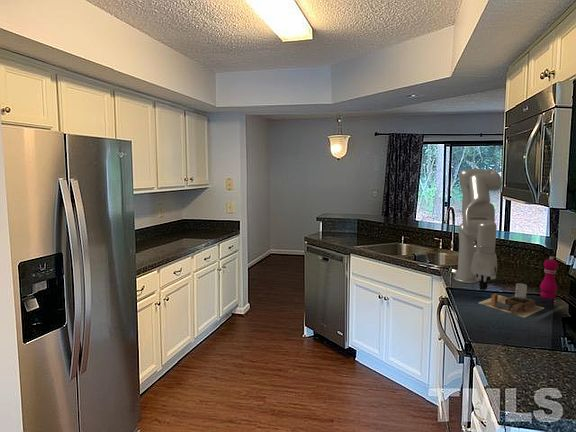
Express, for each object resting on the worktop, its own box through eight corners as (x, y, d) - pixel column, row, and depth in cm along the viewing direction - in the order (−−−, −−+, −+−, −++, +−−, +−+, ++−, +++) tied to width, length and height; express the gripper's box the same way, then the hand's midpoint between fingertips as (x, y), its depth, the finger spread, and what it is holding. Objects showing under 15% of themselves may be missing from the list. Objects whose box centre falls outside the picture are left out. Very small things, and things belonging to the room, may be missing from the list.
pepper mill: (540, 293, 216) (544, 253, 213) (557, 296, 212) (561, 256, 209) (537, 297, 211) (541, 256, 208) (555, 300, 206) (559, 259, 203)
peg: (512, 305, 196) (514, 284, 194) (517, 303, 199) (519, 282, 197) (522, 308, 193) (524, 287, 191) (527, 306, 195) (529, 285, 194)
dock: (477, 305, 200) (478, 296, 199) (498, 297, 211) (499, 288, 210) (524, 320, 183) (525, 310, 183) (544, 310, 194) (545, 300, 193)
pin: (490, 305, 196) (491, 294, 195) (493, 304, 198) (494, 293, 197) (508, 310, 190) (509, 299, 189) (511, 309, 191) (512, 298, 190)
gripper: (465, 248, 201) (463, 286, 203) (497, 254, 189) (494, 295, 191) (474, 246, 205) (472, 284, 208) (506, 251, 193) (503, 292, 196)
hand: (483, 289), depth 199 cm, fingers closed
